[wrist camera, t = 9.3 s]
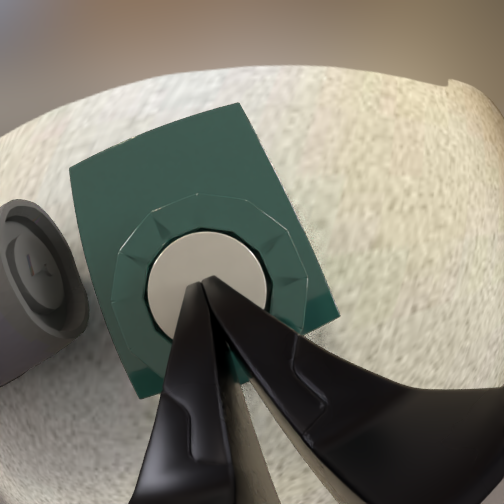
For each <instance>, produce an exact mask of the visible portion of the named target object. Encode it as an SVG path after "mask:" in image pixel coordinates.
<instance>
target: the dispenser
mask: <svg viewBox="0 0 504 504" xmlns="http://www.w3.org/2000/svg"><path fill="white" fill-rule="evenodd" d="M69 173H70V181H71V188H72V195H73V201H74V207H75V213H76V218H77V223H78V228H79V233H80V237H81V241H82V246H83V250H84V254H85V258H86V262H87V265H88V269H89V273H90V276H91V280H92V283H93V286H94V290H95V293H96V296H97V299H98V302H99V305H100V308H101V311H102V314H103V316H104V319H105V322H106V325H107V327H108V330H109V333H110V335H111V338H112V340H113V343H114V345H115V348H116V350H117V352H118V355H119V357H120V359H121V362H122V364H123V366H124V368H125V371H126V373H127V375H128V377H129V379H130V381H131V383H132V385H133V387H134V389H135V391H136V393H137V395H138V397H139V399H144V398H147V397H150V396H154V395H157V394H160V393H161V391H162V390H163V389H162V386H163V381H164V376H165V372H166V367H167V363H168V358H169V354H170V350H171V346H172V341H173V339H171V338H170V337H169V336H168V335H167V334H165V333H164V331H163V330H162V329H161V328H160V327H159V325H158V324H157V322H156V321H155V319H154V317H153V314H152V312H151V309H150V306H149V301H148V281H149V276H150V273H151V270H152V267H153V265H154V263H155V261H156V259H157V258H158V257H159V255H160V254H161V253H162V251H163V250H164V249H165V248H166V247H167V246H169V245H170V244H171V243H172V242H174V241H176V240H177V239H179V238H181V237H183V236H185V235H189V234H192V233H197V232H217V233H222V234H225V235H228V236H230V237H232V238H234V239H236V240H238V241H239V242H241V243H242V244H244V245H245V246H246V247H247V248H248V249H249V250H250V251H251V252H252V253H253V254H254V256H255V257H256V258H257V260H258V261H259V263H260V265H261V267H262V270H263V273H264V275H265V280H266V288H267V296H266V304H265V308H264V310H265V311H267V312H268V313H270V314H271V315H273V316H274V317H275V318H277V319H278V320H280V321H281V322H283V323H284V324H286V325H287V326H289V327H290V328H292V329H293V330H295V331H296V332H298V333H299V335H300V334H301V335H303V336H304V335H306V334H308V333H310V332H312V331H314V330H316V329H318V328H320V327H322V326H324V325H325V324H327V323H329V322H331V321H333V320H335V319H337V318H339V317H340V313H339V310H338V308H337V305H336V303H335V300H334V298H333V296H332V293H331V291H330V288H329V286H328V284H327V281H326V279H325V276H324V274H323V272H322V269H321V267H320V265H319V263H318V260H317V258H316V256H315V253H314V251H313V249H312V247H311V244H310V242H309V240H308V238H307V236H306V233H305V231H304V229H303V227H302V225H301V223H300V220H299V218H298V216H297V214H296V212H295V210H294V208H293V206H292V204H291V201H290V199H289V197H288V195H287V193H286V191H285V189H284V187H283V185H282V183H281V181H280V179H279V177H278V175H277V173H276V171H275V169H274V167H273V165H272V163H271V161H270V159H269V157H268V155H267V153H266V151H265V149H264V148H263V146H262V144H261V142H260V140H259V138H258V136H257V134H256V132H255V131H254V129H253V127H252V125H251V123H250V121H249V119H248V118H247V116H246V114H245V112H244V110H243V109H242V107H241V105H240V103H234V104H231V105H227V106H223V107H219V108H216V109H212V110H209V111H205V112H202V113H199V114H196V115H192V116H189V117H186V118H183V119H180V120H177V121H174V122H172V123H169V124H166V125H163V126H161V127H158V128H155V129H153V130H150V131H147V132H145V133H142V134H140V135H137V136H135V137H133V138H130V139H128V140H126V141H123V142H121V143H119V144H117V145H114V146H112V147H110V148H108V149H106V150H104V151H101V152H99V153H97V154H95V155H93V156H91V157H89V158H87V159H85V160H83V161H81V162H79V163H78V164H76V165H74V166H72V167H70V168H69ZM229 349H230V347H229ZM230 352H231V355H232V358H233V361H234V365H235V368H236V372H237V375H238V378H239V382H240V385H242V384H244V383H247V382H249V379H248V377H247V376H246V374H245V373H244V371H243V369H242V368H241V366H240V365H239V363H238V361H237V360H236V358H235V357H234V355H233V353H232V351H231V349H230Z"/></svg>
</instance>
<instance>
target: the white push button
mask: <svg viewBox="0 0 504 504" xmlns="http://www.w3.org/2000/svg"><path fill="white" fill-rule="evenodd" d="M212 275H215V276H217V277H218V278H220V279H221V280H222V281H224V282H225V283H227V284H228V285H229V286H231V287H232V288H234V289H235V290H236V291H238V292H239V293H241V294H242V295H244V296H245V297H246V298H248V299H249V300H251V301H252V302H254V303H255V304H256V305H258V306H259V307H261V308H262V309H264V308H265V304H266V296H267V288H266V280H265V275H264V273H263V270H262V267H261V265H260V263H259V261H258V260H257V258H256V257H255V256H254V254H253V253H252V252H251V251H250V250H249V249H248V248H247V247H246V246H245V245H244V244H242V243H241V242H239V241H238V240H236V239H234V238H232V237H230V236H228V235H225V234H222V233H217V232H197V233H192V234H189V235H185V236H183V237H181V238H179V239H177V240H176V241H174V242H172V243H171V244H170V245H169V246H167V247H166V248H165V249H164V250H163V251H162V253H161V254H160V255H159V257H158V258H157V259H156V261H155V263H154V265H153V267H152V270H151V273H150V276H149V281H148V301H149V306H150V309H151V312H152V314H153V317H154V319H155V321H156V322H157V324H158V325H159V327H160V328H161V329H162V330H163V331H164V333H165V334H167V335H168V336H169V337H170V338H171V339H173V337H174V333H175V329H176V325H177V321H178V317H179V313H180V309H181V305H182V301H183V298H184V294H185V290H186V287H187V286H188V285H190V284H192V283H195V282H197V281H200V282H201V281H202V280H203V279H205V278H207V277H210V276H212ZM228 346H229V345H228Z"/></svg>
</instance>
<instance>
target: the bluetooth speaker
mask: <svg viewBox="0 0 504 504" xmlns="http://www.w3.org/2000/svg"><path fill="white" fill-rule="evenodd" d="M88 319H89V303H88V298H87V294H86V292H85V289H84V287H83V284H82V282H81V279H80V276H79V273H78V271H77V268H76V264H75V261H74V258H73V255H72V252H71V250H70V248H69V246H68V243H67V242H66V240H65V238H64V237H63V235H62V233H61V232H60V230H59V229H58V227H57V226H56V224H55V223H54V222H53V220H52V219H51V218H50V217H49V215H48V214H47V213H46V212H45V211H44V210H43V209H42V208H41V207H40V206H38V205H37V204H35V203H33V202H30V201H27V200H21V199H16V200H12V201H10V202H8V203H6V204H4V205H2V206H1V207H0V387H2V386H4V385H6V384H8V383H9V382H11V381H13V380H15V379H16V378H18V377H20V376H21V375H23V374H24V373H25V372H27V371H28V370H30V369H31V368H33V367H35V366H36V365H38V364H40V363H41V362H43V361H45V360H46V359H48V358H50V357H51V356H53V355H54V354H56V353H57V352H59V351H60V350H61V349H63V348H64V347H65V346H67V345H68V344H70V343H71V342H72V341H73V340H75V339H76V338H77V337H78V336H80V335H81V334H82V333H83V332H84V331H85V329H86V327H87V324H88Z"/></svg>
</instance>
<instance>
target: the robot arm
mask: <svg viewBox="0 0 504 504" xmlns="http://www.w3.org/2000/svg"><path fill="white" fill-rule="evenodd" d="M228 345H229V346H228ZM229 347H230V349H231V351H232V353H233V355H234V357H235V358H236V360H237V361H238V363H239V365H240V366H241V368H242V369H243V371H244V373H245V374H246V376H247V377H248V379H249V381H250V382H251V384H252V385H253V387H254V388H255V390H256V391H257V393H258V395H259V396H260V398H261V399H262V401H263V402H264V404H265V405H266V407H267V408H268V410H269V411H270V413H271V414H272V415H273V417H274V418H275V420H276V421H277V423H278V424H279V426H280V427H281V429H282V430H283V431H284V433H285V434H286V436H287V437H288V438H289V440H290V441H291V443H292V444H293V445H294V447H295V448H296V449H297V451H298V452H299V454H300V455H301V456H302V458H303V459H304V460H305V462H306V463H308V466H309V467H310V468H311V469H312V471H313V472H314V473H315V475H316V476H317V477H318V478H319V480H320V481H321V482H322V484H323V485H324V486H325V487H326V489H327V490H328V491H329V492H330V493H331V495H332V496H333V497H334V498H335V500H336V501H337V502H338V503H339V504H504V384H503V385H502V386H501V387H497V388H482V389H420V388H414V387H409V386H406V385H402V384H400V383H397V382H394V381H392V380H390V379H387V378H385V377H382V376H380V375H378V374H375V373H373V372H371V371H368V370H366V369H364V368H362V367H359V366H357V365H355V364H353V363H351V362H348V361H346V360H344V359H342V358H340V357H338V356H336V355H334V354H332V353H330V352H329V351H327V350H325V349H323V348H322V347H320V346H318V345H317V344H315V343H313V342H312V341H310V340H309V339H307V338H306V337H304V336H303V335H301V334H300V335H299V333H298V332H296V331H295V330H293V329H292V328H290V327H289V326H287V325H286V324H284V323H283V322H281V321H280V320H278V319H277V318H275V317H274V316H273V315H271V314H270V313H268V312H267V311H265V310H264V309H262V308H261V307H259V306H258V305H256V304H255V303H254V302H252V301H251V300H249V299H248V298H246V297H245V296H244V295H242V294H241V293H239V292H238V291H236V290H235V289H234V288H232V287H231V286H229V285H228V284H227V283H225V282H224V281H222V280H221V279H220V278H218V277H217V276H215V275H212V276H210V277H207V278H205V279H203V280H202V281H201V282H200V281H197V282H195V283H192V284H190V285H188V286H187V287H186V290H185V294H184V298H183V301H182V305H181V309H180V313H179V317H178V321H177V325H176V329H175V333H174V337H173V341H172V346H171V350H170V354H169V358H168V363H167V367H166V372H165V376H164V381H163V386H162V389H163V390H162V391H161V395H160V400H159V405H158V409H157V413H156V418H155V422H154V426H153V429H152V433H151V436H150V440H149V443H148V447H147V450H146V453H145V456H144V460H143V463H142V467H141V470H140V473H139V477H138V480H137V484H136V487H135V490H134V493H133V495H132V497H131V499H130V501H129V503H128V504H281V503H280V500H279V498H278V495H277V492H276V490H275V487H274V484H273V482H272V479H271V476H270V473H269V471H268V468H267V465H266V462H265V459H264V456H263V454H262V451H261V448H260V445H259V442H258V439H257V436H256V433H255V430H254V427H253V424H252V421H251V417H250V414H249V411H248V408H247V405H246V402H245V398H244V395H243V392H242V388H241V385H240V382H239V378H238V375H237V372H236V368H235V365H234V361H233V358H232V355H231V352H230V349H229Z"/></svg>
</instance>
